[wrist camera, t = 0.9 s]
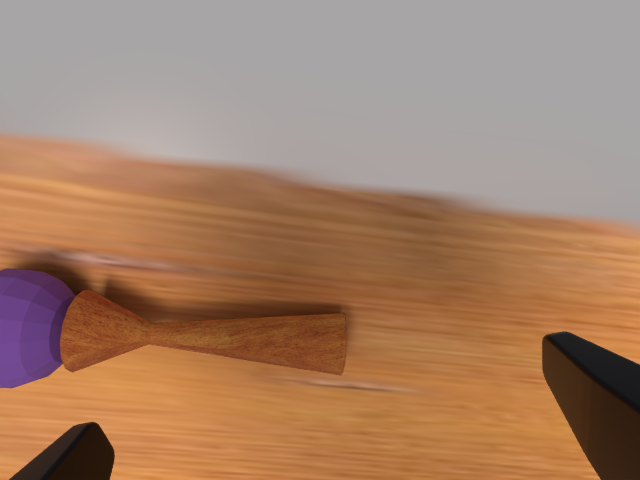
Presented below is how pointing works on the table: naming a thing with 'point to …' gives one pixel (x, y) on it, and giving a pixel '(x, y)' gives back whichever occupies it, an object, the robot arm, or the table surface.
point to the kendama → (142, 332)
